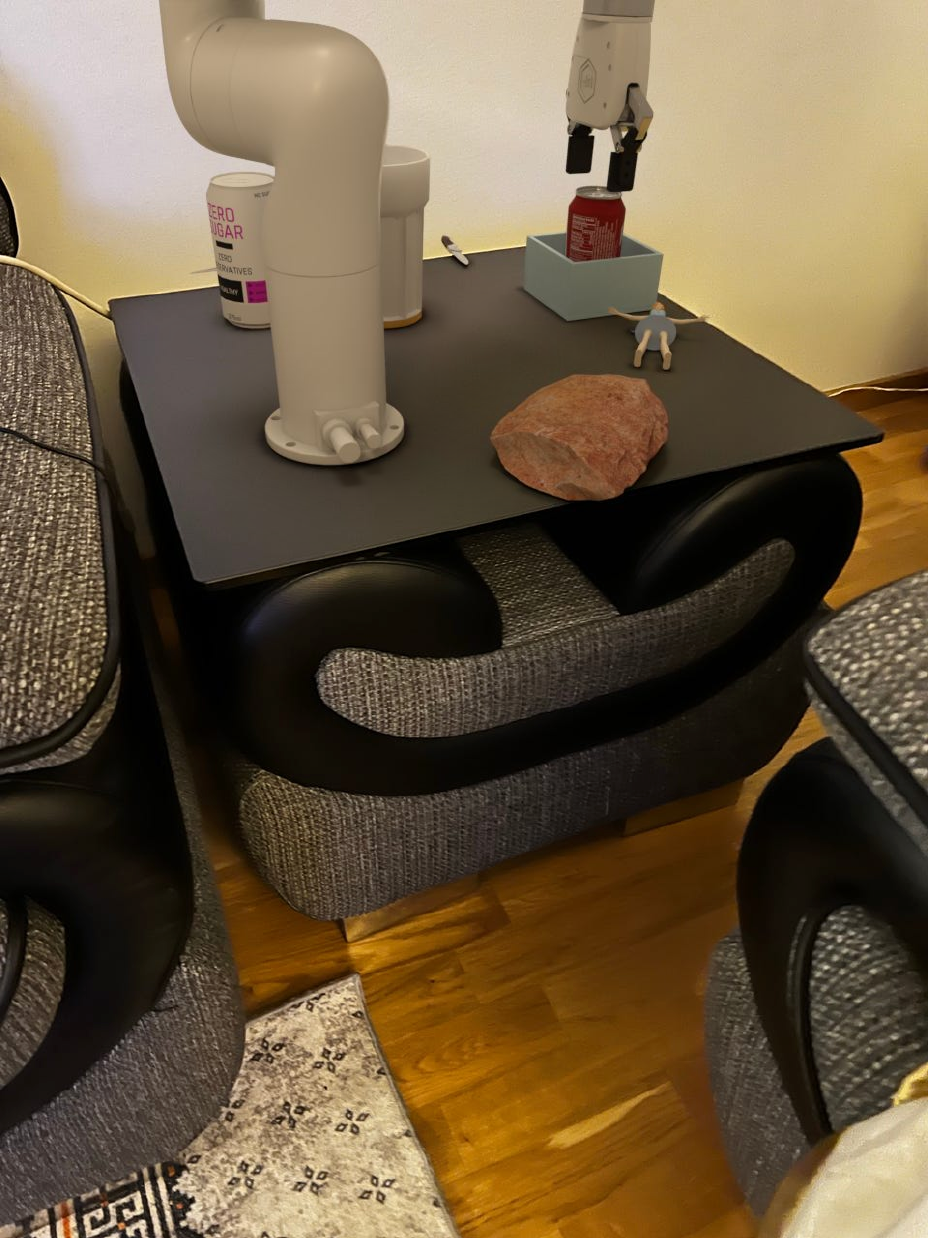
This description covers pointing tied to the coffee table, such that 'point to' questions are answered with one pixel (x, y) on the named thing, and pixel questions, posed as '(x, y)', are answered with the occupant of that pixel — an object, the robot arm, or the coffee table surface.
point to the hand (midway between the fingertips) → (598, 181)
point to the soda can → (594, 224)
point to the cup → (403, 232)
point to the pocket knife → (453, 248)
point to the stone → (583, 436)
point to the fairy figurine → (655, 332)
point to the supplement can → (240, 244)
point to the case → (591, 278)
